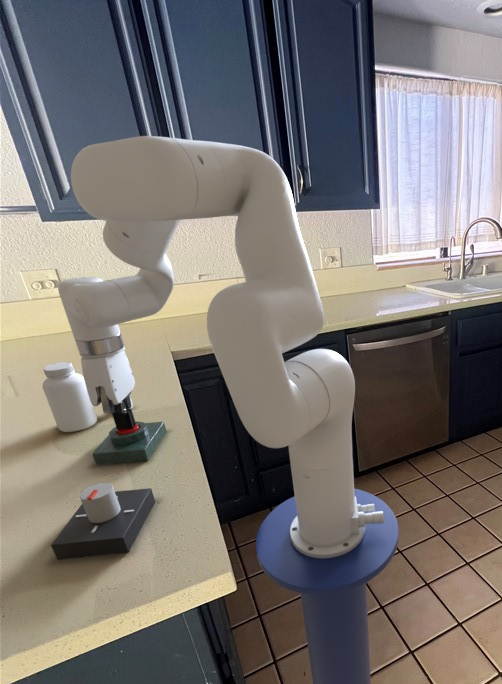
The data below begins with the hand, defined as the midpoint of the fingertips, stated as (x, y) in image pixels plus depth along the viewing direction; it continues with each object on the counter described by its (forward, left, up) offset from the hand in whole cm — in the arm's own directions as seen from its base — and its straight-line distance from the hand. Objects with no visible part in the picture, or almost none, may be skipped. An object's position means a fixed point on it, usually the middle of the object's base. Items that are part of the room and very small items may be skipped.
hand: (126, 427), depth 90 cm
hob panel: (-6, +26, -5) cm, 27 cm away
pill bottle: (+17, -13, -5) cm, 22 cm away
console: (0, 0, -5) cm, 5 cm away
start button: (0, 0, -2) cm, 2 cm away
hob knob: (-6, +26, -2) cm, 27 cm away
